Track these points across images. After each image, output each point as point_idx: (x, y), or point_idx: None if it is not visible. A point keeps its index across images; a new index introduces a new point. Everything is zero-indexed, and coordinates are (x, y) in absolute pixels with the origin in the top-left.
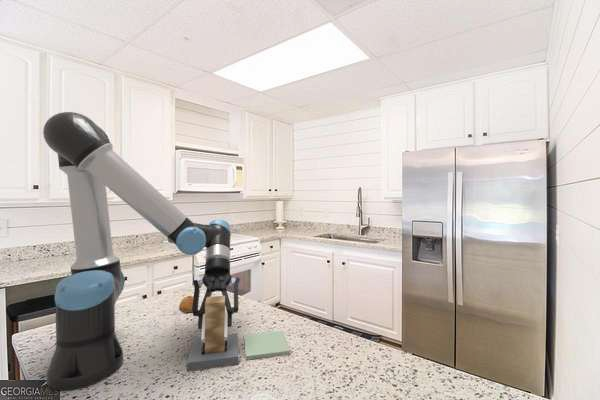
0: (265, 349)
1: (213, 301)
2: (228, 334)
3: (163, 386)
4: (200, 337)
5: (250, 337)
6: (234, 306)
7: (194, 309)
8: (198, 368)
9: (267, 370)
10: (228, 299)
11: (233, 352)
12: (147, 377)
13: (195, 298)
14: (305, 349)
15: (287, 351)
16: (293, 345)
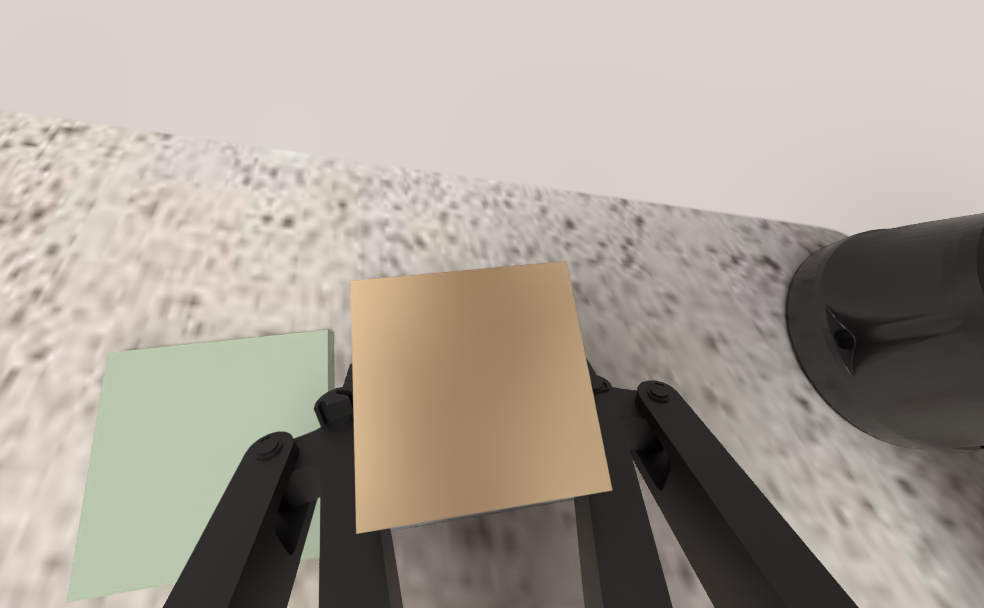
0: (229, 376)
1: (487, 315)
2: (414, 525)
3: (594, 224)
4: (563, 500)
5: None
6: (284, 455)
7: (661, 393)
8: None
9: (253, 257)
10: (328, 527)
11: None
12: (665, 273)
13: (745, 504)
14: (29, 389)
15: (125, 351)
16: (77, 435)
